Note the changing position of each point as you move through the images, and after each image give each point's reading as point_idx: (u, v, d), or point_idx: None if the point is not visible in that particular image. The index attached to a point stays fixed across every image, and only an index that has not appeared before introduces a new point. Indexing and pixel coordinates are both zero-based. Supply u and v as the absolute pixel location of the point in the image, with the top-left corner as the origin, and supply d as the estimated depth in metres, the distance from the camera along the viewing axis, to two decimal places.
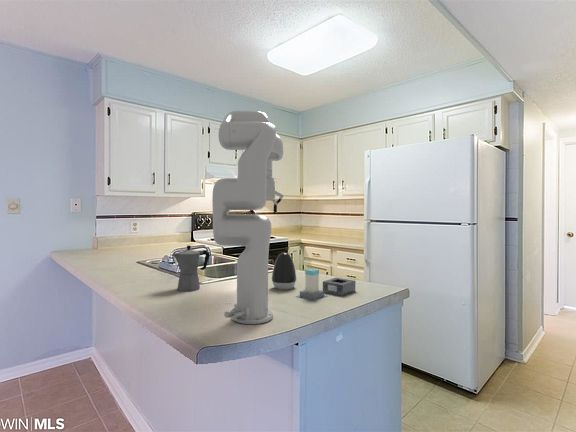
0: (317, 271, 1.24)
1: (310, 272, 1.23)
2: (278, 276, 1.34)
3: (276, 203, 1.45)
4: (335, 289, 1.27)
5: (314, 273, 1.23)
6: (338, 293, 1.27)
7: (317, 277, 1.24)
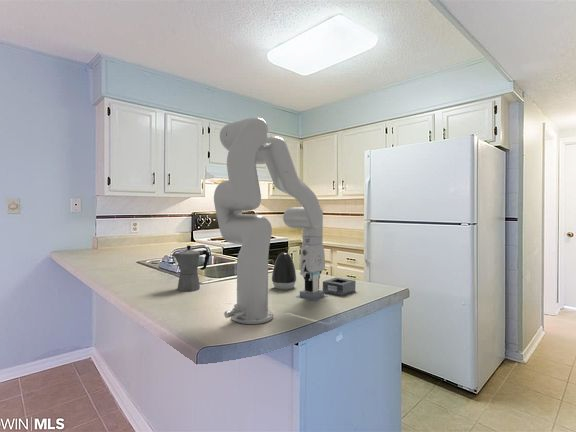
0: None
1: None
2: (278, 276, 1.34)
3: (319, 277, 1.26)
4: (335, 289, 1.27)
5: (314, 273, 1.23)
6: (338, 293, 1.27)
7: (317, 277, 1.24)
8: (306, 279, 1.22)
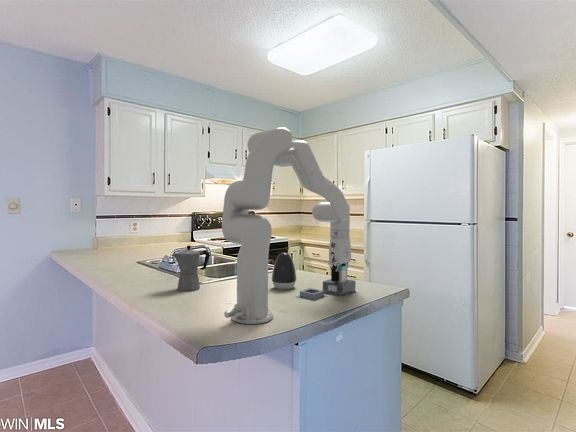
0: (345, 267, 1.31)
1: (339, 268, 1.30)
2: (278, 276, 1.34)
3: (347, 267, 1.34)
4: (335, 289, 1.27)
5: (343, 268, 1.30)
6: (338, 293, 1.27)
7: (345, 272, 1.31)
8: (333, 269, 1.29)
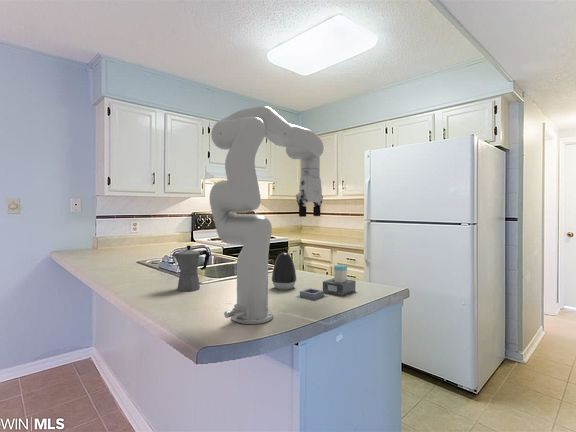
0: (345, 267, 1.31)
1: (339, 268, 1.30)
2: (278, 276, 1.34)
3: (320, 205, 1.38)
4: (335, 289, 1.27)
5: (343, 269, 1.30)
6: (338, 293, 1.27)
7: (345, 272, 1.31)
8: None
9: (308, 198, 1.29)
